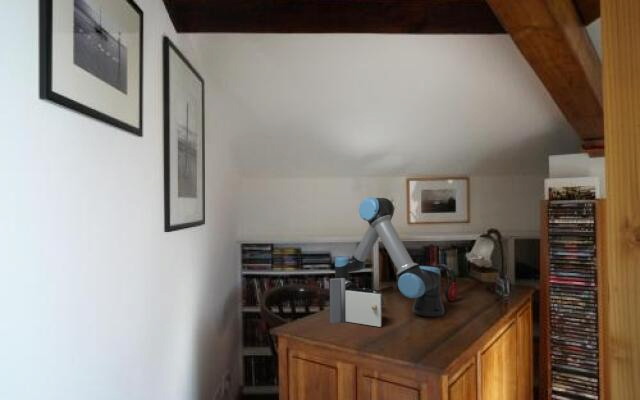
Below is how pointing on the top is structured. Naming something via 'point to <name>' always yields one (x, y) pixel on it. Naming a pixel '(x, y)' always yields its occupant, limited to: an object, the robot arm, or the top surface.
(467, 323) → the top surface
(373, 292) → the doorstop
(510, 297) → the top surface
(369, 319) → the door
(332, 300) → the wall frame
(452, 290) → the headphones
